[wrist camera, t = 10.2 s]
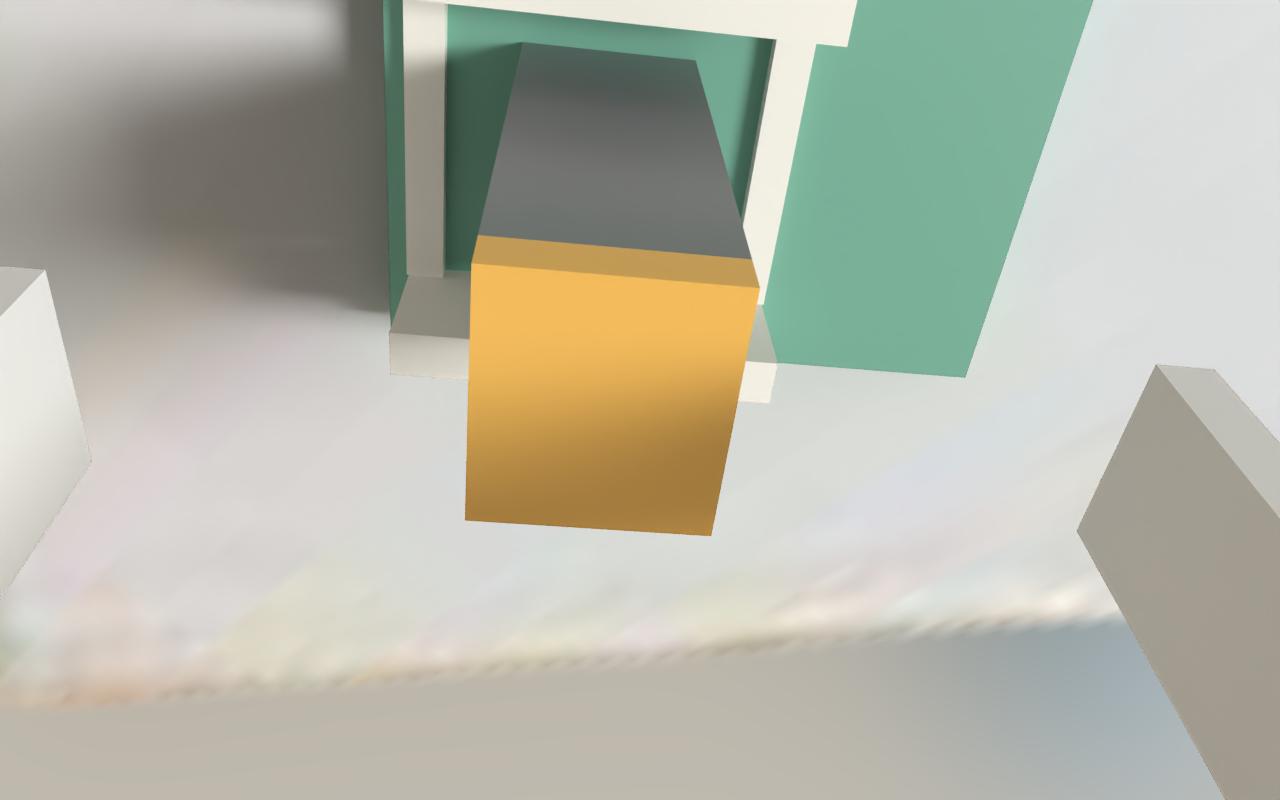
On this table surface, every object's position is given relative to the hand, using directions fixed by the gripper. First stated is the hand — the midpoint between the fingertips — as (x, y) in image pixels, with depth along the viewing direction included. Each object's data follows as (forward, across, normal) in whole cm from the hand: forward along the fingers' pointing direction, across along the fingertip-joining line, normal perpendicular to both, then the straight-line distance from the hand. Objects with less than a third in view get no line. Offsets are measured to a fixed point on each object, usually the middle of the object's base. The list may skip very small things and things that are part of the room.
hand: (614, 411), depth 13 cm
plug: (+11, 0, -1) cm, 11 cm away
